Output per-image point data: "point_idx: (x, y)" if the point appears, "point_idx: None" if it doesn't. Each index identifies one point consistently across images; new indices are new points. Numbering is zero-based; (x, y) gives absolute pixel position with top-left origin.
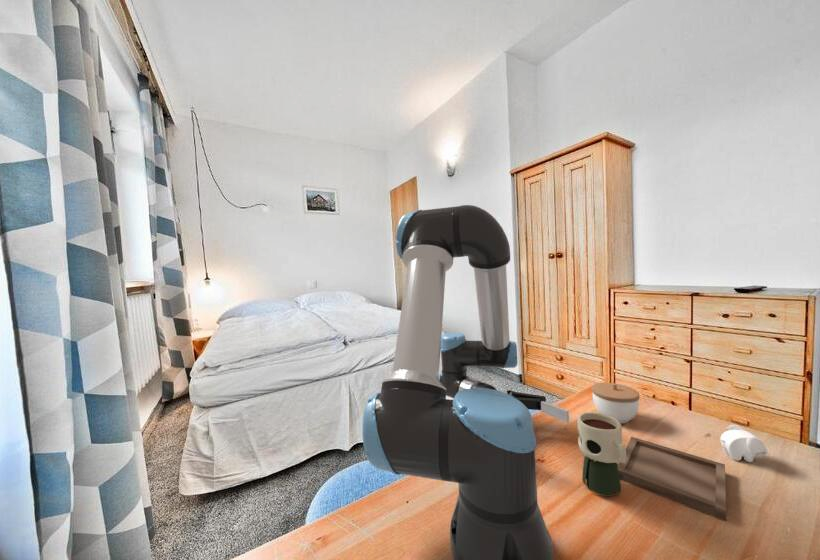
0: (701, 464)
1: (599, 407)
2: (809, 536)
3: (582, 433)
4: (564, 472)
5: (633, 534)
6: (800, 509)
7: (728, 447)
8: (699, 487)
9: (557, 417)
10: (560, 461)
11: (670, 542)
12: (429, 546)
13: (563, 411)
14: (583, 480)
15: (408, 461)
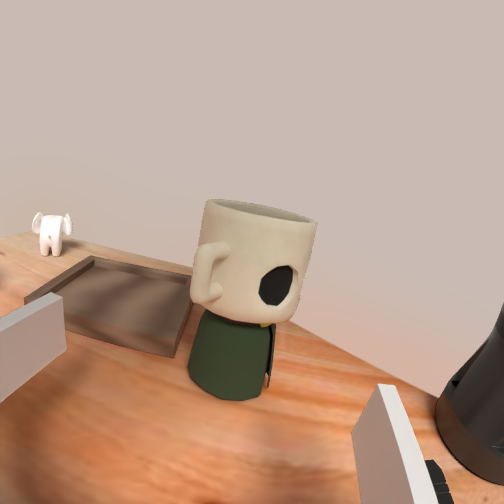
0: (87, 270)
1: None
2: (178, 264)
3: (306, 257)
4: (229, 442)
5: (310, 349)
6: (136, 257)
7: (57, 240)
8: (151, 284)
9: (34, 367)
10: (174, 457)
11: (285, 327)
12: None
13: (51, 310)
14: (252, 394)
15: None
